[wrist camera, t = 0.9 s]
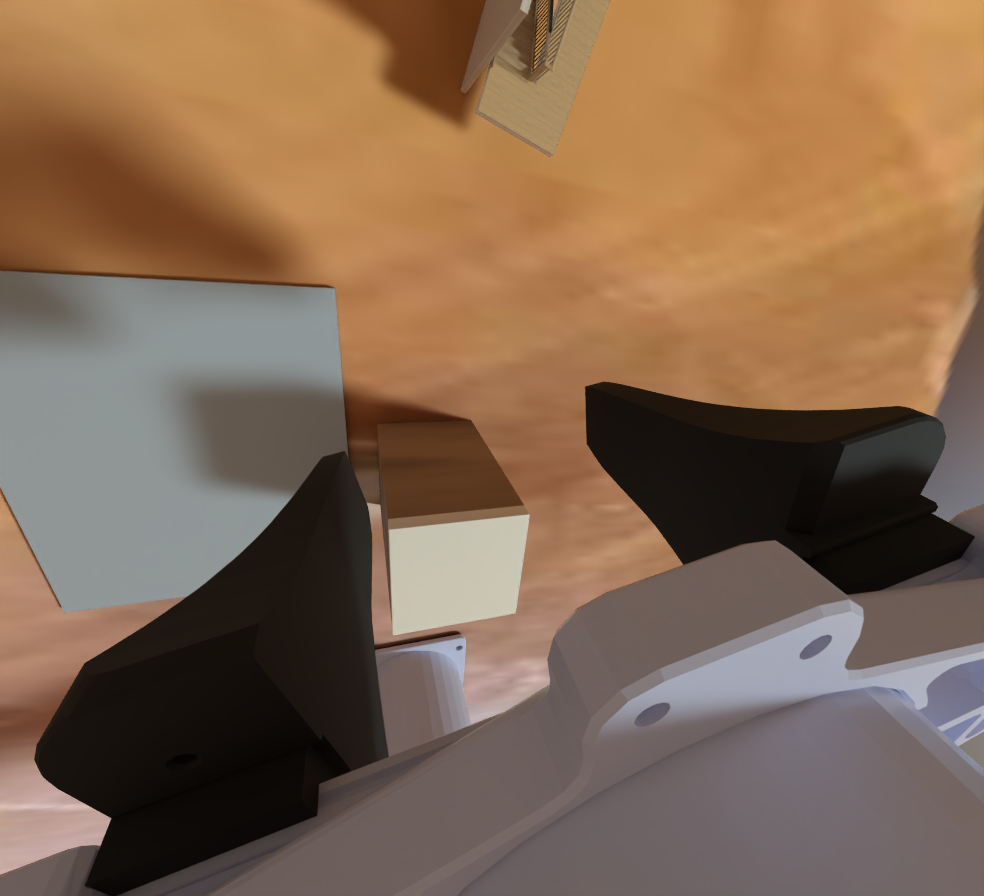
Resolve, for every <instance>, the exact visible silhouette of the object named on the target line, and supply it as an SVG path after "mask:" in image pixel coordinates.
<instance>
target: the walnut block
mask: <svg viewBox="0 0 984 896" xmlns="http://www.w3.org/2000/svg"><path fill="white" fill-rule="evenodd" d="M377 440H378V462H379V483H380V505H381V516H382V526H383V537H384V547H385V557H386V568H387V578H388V589H389V599H390V610H391V620H392V631H393V635H398V634H404V633H409V632H415V631H420V630H426V629H431V628H437V627H442V626H448V625H453V624H459V623H465V622H470V621H476V620H481V619H487V618H492V617H498V616H503V615H509V614H514V613H516V607H517V600H518V593H519V586H520V579H521V572H522V565H523V558H524V551H525V544H526V537H527V530H528V523H529V516H530V514H529V512H528V511H527V509H526V508H525V506H524V504H523V503H522V501H521V500H520V498H519V496H518V495H517V493H516V492H515V490H514V488H513V487H512V485H511V484H510V482H509V480H508V479H507V477H506V476H505V474H504V472H503V471H502V469H501V468H500V466H499V464H498V463H497V461H496V460H495V458H494V456H493V455H492V453H491V451H490V450H489V448H488V447H487V445H486V443H485V442H484V440H483V439H482V437H481V435H480V434H479V432H478V431H477V429H476V427H475V426H474V424H473V423H472V421H471V420H461V421H434V422H407V423H380V424H377Z"/></svg>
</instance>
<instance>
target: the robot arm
mask: <svg viewBox="0 0 984 896" xmlns="http://www.w3.org/2000/svg"><path fill="white" fill-rule="evenodd" d="M585 396H586V434H587V445H588V446H589V448H590V450H591V451H592V453H593V454H594V456H595V457H596V459H597V460H598V462H599V463H600V464H601V466H602V467H603V468H604V470H605V471H606V472H607V473H608V474H609V475H610V476H611V477H612V478H613V480H614V481H615V482H616V483H617V484H618V485H619V486H620V487H621V488H622V489H623V490H624V491H625V493H626V494H627V495H628V496H629V497H630V498H631V499H632V500H633V501H634V502H635V503H636V504H637V505H638V507H639V508H640V509H641V510H642V511H643V512H644V513H645V514H646V515H647V516H648V518H649V519H650V520H651V521H652V522H653V523H654V525H655V526H656V527H657V529H658V530H659V531H660V533H661V534H662V535H663V537H664V538H665V539H666V541H667V542H668V544H669V545H670V546H671V548H672V549H673V550H674V552H675V553H676V555H677V556H678V558H679V559H680V561H681V562H682V563H683V565H682V566H679V567H677V568H674V569H671V570H668V571H665V572H663V573H660V574H657V575H654V576H651V577H648V578H646V579H643V580H640V581H637V582H634V583H632V584H629V585H626V586H623V587H620V588H617V589H615V590H612V591H609V592H606V593H605V594H603V595H601V596H599V597H597V598H595V599H594V600H592V601H590V602H588V603H586V604H584V605H583V606H581V607H579V608H577V609H576V610H575V611H574V613H573V614H572V615H571V616H570V617H569V618H568V619H567V620H566V621H565V622H564V623H563V624H562V625H561V626H560V628H559V629H558V630H557V631H556V633H555V635H554V638H553V641H552V645H551V649H550V652H549V656H548V667H549V675H550V685H548V686H547V687H545V688H543V689H542V690H540V691H538V692H537V693H535V694H533V695H532V696H530V697H528V698H527V699H525V700H523V701H522V702H520V703H519V704H517V705H515V706H514V707H512V708H510V709H509V710H507V711H505V712H503V713H501V714H498V715H495V716H493V717H490V718H488V719H485V720H483V721H480V722H477V723H475V724H472V725H471V721H470V717H469V713H468V708H467V704H466V700H465V696H464V692H463V676H464V663H465V650H466V639H465V636H464V635H462V634H458V635H452V636H447V637H442V638H436V639H431V640H426V641H420V642H415V643H410V644H404V645H399V646H394V647H388V648H383V649H378V650H375V646H374V636H373V626H372V608H371V595H372V532H371V524H370V517H369V510H368V506H367V503H366V501H365V498H364V496H363V494H362V491H361V489H360V486H359V484H358V481H357V479H356V476H355V474H354V471H353V469H352V466H351V464H350V461H349V459H348V457H347V454H346V452H345V451H342V452H339V453H335V454H331V455H327V456H324V457H322V458H321V459H320V461H319V462H318V463H317V464H316V466H315V467H314V468H313V470H312V471H311V473H310V474H309V475H308V477H307V478H306V479H305V481H304V482H303V483H302V485H301V486H300V487H299V489H298V490H297V491H296V493H295V494H294V495H293V497H292V498H291V499H290V500H289V502H288V503H287V504H286V505H285V506H284V508H283V509H282V510H281V511H280V512H279V513H278V515H277V516H276V517H275V518H274V519H273V521H272V522H271V523H270V524H269V525H268V526H267V527H266V528H265V529H264V531H263V532H262V533H261V534H260V535H259V536H258V537H257V538H256V539H255V540H254V541H253V542H252V543H251V544H249V545H248V546H247V547H246V548H245V549H244V550H243V551H242V552H241V553H240V554H239V555H238V556H237V557H236V558H234V559H233V560H232V561H231V562H230V563H229V564H227V565H226V566H225V567H224V568H223V569H221V570H220V571H219V572H218V573H217V574H215V575H214V576H213V577H212V578H211V579H209V580H208V581H207V582H206V583H205V584H203V585H202V586H201V587H199V588H198V589H197V590H195V591H194V592H193V593H191V594H190V595H189V596H187V597H186V598H185V599H183V600H182V601H181V602H179V603H178V604H176V605H175V606H174V607H172V608H171V609H169V610H168V611H166V612H165V613H164V614H162V615H161V616H159V617H158V618H156V619H155V620H153V621H152V622H150V623H149V624H147V625H146V626H144V627H143V628H141V629H139V630H138V631H136V632H135V633H133V634H131V635H130V636H128V637H127V638H125V639H123V640H122V641H120V642H119V643H117V644H115V645H114V646H112V647H111V648H109V649H107V650H106V651H104V652H103V653H101V654H99V655H98V656H96V657H94V658H93V659H91V660H89V661H87V662H86V663H85V664H84V665H83V667H82V669H81V670H80V672H79V674H78V675H77V677H76V679H75V681H74V682H73V684H72V686H71V687H70V689H69V691H68V692H67V694H66V696H65V698H64V699H63V701H62V703H61V704H60V706H59V708H58V710H57V711H56V713H55V715H54V716H53V718H52V720H51V722H50V723H49V725H48V727H47V728H46V730H45V732H44V733H43V735H42V737H41V739H40V740H39V742H38V744H37V747H36V753H35V759H34V760H35V762H36V765H37V767H38V769H39V771H40V773H41V775H42V776H43V777H44V778H45V779H46V780H47V781H48V782H50V783H51V784H52V785H54V786H55V787H56V788H57V789H59V790H61V791H63V792H65V793H66V794H68V795H70V796H72V797H74V798H76V799H77V800H79V801H81V802H83V803H85V804H86V805H88V806H90V807H92V808H94V809H96V810H97V811H99V812H101V813H103V814H105V815H107V816H108V817H110V818H112V819H111V821H110V824H109V826H108V829H107V831H106V834H105V836H104V839H103V841H102V844H101V846H97V845H91V846H80V847H76V848H72V849H68V850H65V851H62V852H60V853H57V854H54V855H52V856H49V857H46V858H44V859H41V860H39V861H36V862H33V863H31V864H28V865H25V866H23V867H20V868H17V869H15V870H12V871H9V872H7V873H4V874H1V875H0V896H984V769H983V768H982V767H981V766H980V765H978V764H977V763H976V762H975V761H974V760H973V759H972V758H971V757H969V756H968V755H967V754H966V753H965V752H964V751H963V750H962V749H961V748H959V747H958V746H959V745H961V744H963V743H964V742H966V741H968V740H969V739H971V738H973V737H975V736H976V735H978V734H980V733H982V732H983V731H984V504H982V505H980V506H977V507H974V508H971V509H969V510H966V511H964V512H962V513H960V514H958V515H957V516H955V517H954V518H953V519H952V520H951V521H950V522H947V521H945V520H943V519H941V518H939V517H937V516H936V515H934V514H932V513H933V512H935V511H936V509H937V508H938V506H937V504H936V502H934V501H932V500H930V499H928V498H926V497H924V496H922V495H920V494H921V492H922V490H923V488H924V487H925V485H926V483H927V481H928V479H929V477H930V475H931V473H932V472H933V470H934V468H935V466H936V464H937V462H938V460H939V458H940V455H941V453H942V451H943V449H944V444H945V438H946V435H945V432H944V428H943V424H942V423H941V422H940V421H939V420H938V419H937V418H935V417H933V416H930V415H927V414H924V413H922V412H919V411H916V410H914V409H911V408H907V407H901V406H893V407H878V408H863V409H848V410H808V411H805V410H771V409H754V408H742V407H733V406H725V405H717V404H710V403H704V402H698V401H693V400H688V399H683V398H678V397H673V396H669V395H664V394H660V393H656V392H652V391H647V390H643V389H639V388H635V387H631V386H626V385H622V384H617V383H611V382H601V383H597V384H593V385H590V386H586V387H585Z"/></svg>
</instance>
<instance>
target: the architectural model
mask: <svg viewBox="0 0 984 896" xmlns="http://www.w3.org/2000/svg"><path fill="white" fill-rule="evenodd" d="M541 1H542V0H541ZM541 1H540V3H541ZM544 1H545V0H544ZM544 1H543V2H544ZM547 1H548V4H547V5H548V7H547V8H546V10H547V9H548V11H547V12H548V15H547V16H546V17H547V20H546V21H547V24H546V25H547V28H546V29H547V32H546V33H545V34H544V35H543V36H542V38H543V37H544V36H545V35H546V37H545V38H544V39H543V41H544V40H545V39H546V40H545V43H544V44H543V45H544V46H543V45H542V46H543V49H542V50H541V51H542V52H541V51H540V52H541V55H540V56H539V57H540V58H539V57H538V58H539V61H538V62H537V63H538V64H537V63H536V64H537V67H536V68H535V69H536V70H535V69H534V66H535V65H536V64H535V65H534V62H535V61H536V60H537V59H538V58H537V59H536V60H535V61H534V58H535V57H536V56H537V55H538V54H539V53H540V52H539V53H538V54H537V55H536V56H535V53H536V52H537V51H538V50H539V49H540V48H541V47H542V46H541V47H540V48H539V49H538V50H537V51H536V52H535V49H536V48H537V47H538V46H539V45H540V44H541V43H542V42H543V41H542V42H541V43H540V44H539V45H538V46H537V47H536V48H535V45H536V44H537V43H538V42H539V41H540V40H541V39H542V38H541V39H540V40H539V41H538V42H537V43H536V40H537V39H538V38H539V37H540V36H541V35H542V34H543V33H544V32H545V30H546V29H545V30H544V31H543V32H542V34H541V35H540V36H539V37H538V38H537V39H536V36H537V35H538V34H539V33H540V32H541V31H542V30H543V29H544V28H545V26H546V25H545V26H544V27H543V28H542V30H541V31H540V32H539V33H538V34H537V35H536V33H537V31H538V30H539V29H540V28H541V27H542V26H543V25H544V24H545V22H546V21H545V22H544V23H543V25H542V26H541V27H540V28H539V29H538V30H537V31H536V29H537V28H538V27H539V25H540V24H541V23H542V22H543V21H544V20H545V19H546V17H545V18H544V20H543V21H542V22H541V23H540V24H539V25H538V26H537V24H538V23H539V22H540V21H541V19H542V18H543V17H544V16H545V15H546V14H547V12H546V13H545V15H544V16H543V17H542V18H541V19H540V20H539V22H538V23H537V20H538V19H539V18H540V17H541V16H542V14H543V13H544V12H545V11H546V10H545V11H544V12H543V13H542V14H541V16H540V17H539V18H538V19H537V17H538V16H539V14H540V13H541V12H542V11H543V10H544V8H545V7H546V6H547V5H546V6H545V7H544V8H543V10H542V11H541V12H540V13H539V14H538V12H539V11H540V10H541V8H542V7H543V6H544V5H545V4H546V2H547ZM547 1H546V2H545V3H544V5H543V6H542V7H541V8H540V10H539V11H538V9H539V7H540V6H541V5H542V4H543V2H542V4H541V5H540V6H539V7H538V5H539V4H540V3H539V4H538V2H539V0H486V2H485V6H484V9H483V13H482V16H481V20H480V23H479V27H478V30H477V34H476V37H475V41H474V44H473V48H472V51H471V55H470V59H469V62H468V66H467V69H466V73H465V76H464V80H463V83H462V87H461V90H460V91H461V92H463V93H464V94H466V93H467V91H468V90H469V89H470V87H471V86H472V85H473V84H474V82H475V81H476V80H477V78H478V77H479V76H480V75H481V73H482V72H483V71H484V69H485V68H486V67H487V66H488V64H489V63H490V65H489V68H488V72H487V75H486V78H485V82H484V85H483V89H482V92H481V95H480V99H479V102H478V105H477V109H476V112H475V113H476V114H478V115H479V116H481V117H483V118H484V119H486V120H488V121H489V122H491V123H493V124H495V125H496V126H498V127H500V128H501V129H503V130H505V131H506V132H508V133H510V134H512V135H513V136H515V137H517V138H518V139H520V140H522V141H524V142H525V143H527V144H529V145H530V146H532V147H534V148H535V149H537V150H539V151H541V152H542V153H544V154H546V155H547V156H549V157H550V156H553V155H554V153H555V150H556V147H557V145H558V142H559V139H560V136H561V134H562V131H563V128H564V125H565V123H566V120H567V117H568V114H569V112H570V109H571V106H572V103H573V101H574V98H575V95H576V93H577V90H578V87H579V84H580V82H581V79H582V76H583V73H584V71H585V68H586V65H587V62H588V60H589V57H590V54H591V51H592V49H593V46H594V43H595V40H596V38H597V35H598V32H599V29H600V27H601V24H602V21H603V19H604V16H605V13H606V10H607V8H608V5H609V2H610V0H559V1H558V4H557V7H556V10H555V13H554V16H553V0H547ZM535 43H536V44H535ZM534 70H535V71H534ZM533 71H534V72H533Z"/></svg>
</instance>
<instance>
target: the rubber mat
mask: <svg viewBox="0 0 984 896" xmlns="http://www.w3.org/2000/svg"><path fill="white" fill-rule="evenodd" d="M342 451H345V452H346V454H347V457H348V459H349V456H348V444H347V431H346V419H345V407H344V394H343V382H342V370H341V357H340V345H339V332H338V320H337V308H336V295H335V288H327V287H308V286H289V285H269V284H250V283H231V282H212V281H193V280H173V279H154V278H135V277H116V276H97V275H77V274H58V273H39V272H20V271H1V270H0V488H1V490H2V492H3V494H4V496H5V498H6V500H7V501H8V503H9V505H10V507H11V509H12V511H13V513H14V515H15V517H16V519H17V521H18V523H19V525H20V527H21V529H22V531H23V533H24V535H25V537H26V538H27V540H28V542H29V544H30V546H31V548H32V550H33V552H34V554H35V556H36V558H37V560H38V562H39V564H40V566H41V568H42V570H43V572H44V574H45V575H46V577H47V579H48V581H49V583H50V585H51V587H52V589H53V591H54V593H55V595H56V597H57V599H58V601H59V603H60V605H61V607H62V609H63V611H64V612H65V613H67V612H75V611H82V610H90V609H97V608H104V607H112V606H119V605H127V604H134V603H141V602H149V601H156V600H164V599H171V598H178V597H186V596H189V595H190V594H191V593H193V592H194V591H195V590H197V589H198V588H199V587H201V586H202V585H203V584H205V583H206V582H207V581H208V580H209V579H211V578H212V577H213V576H214V575H215V574H217V573H218V572H219V571H220V570H221V569H223V568H224V567H225V566H226V565H227V564H229V563H230V562H231V561H232V560H233V559H234V558H236V557H237V556H238V555H239V554H240V553H241V552H242V551H243V550H244V549H245V548H246V547H247V546H248V545H249V544H251V543H252V542H253V541H254V540H255V539H256V538H257V537H258V536H259V535H260V534H261V533H262V532H263V531H264V529H265V528H266V527H267V526H268V525H269V524H270V523H271V522H272V521H273V519H274V518H275V517H276V516H277V515H278V513H279V512H280V511H281V510H282V509H283V508H284V506H285V505H286V504H287V503H288V502H289V500H290V499H291V498H292V497H293V495H294V494H295V493H296V491H297V490H298V489H299V487H300V486H301V485H302V483H303V482H304V481H305V479H306V478H307V477H308V475H309V474H310V473H311V471H312V470H313V468H314V467H315V466H316V464H317V463H318V462H319V461H320V459H321V458H322V457H324V456H327V455H331V454H335V453H339V452H342Z"/></svg>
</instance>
